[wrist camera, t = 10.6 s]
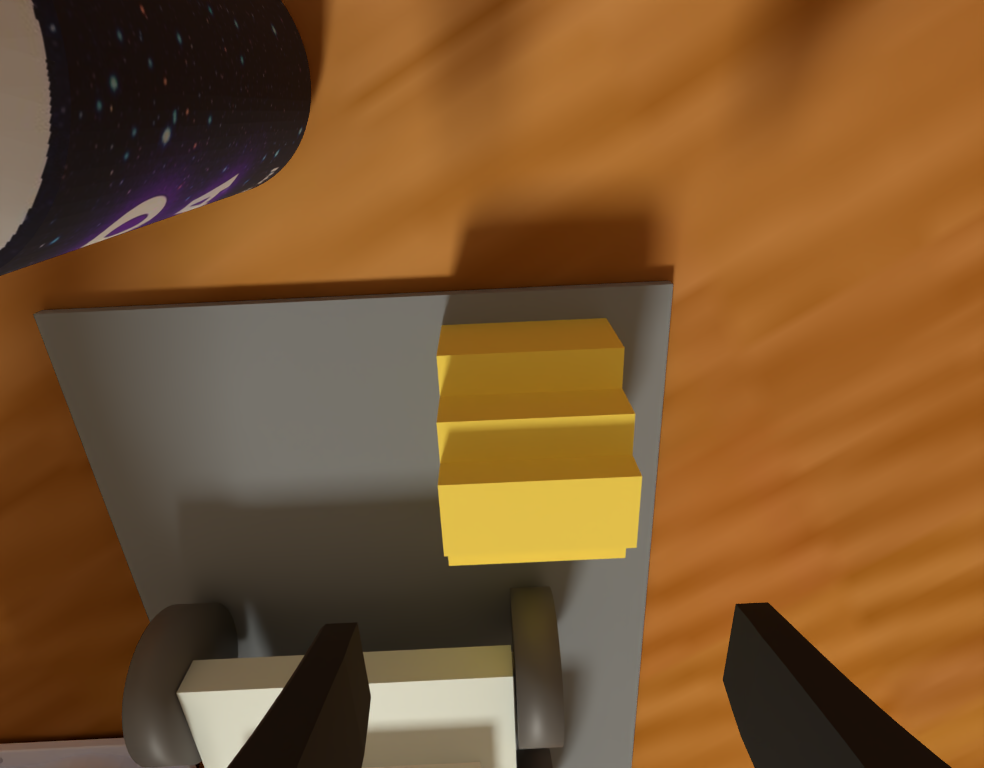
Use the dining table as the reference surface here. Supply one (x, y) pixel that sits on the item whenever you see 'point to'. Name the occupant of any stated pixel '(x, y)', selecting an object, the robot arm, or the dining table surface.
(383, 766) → the trolley
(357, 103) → the dining table surface
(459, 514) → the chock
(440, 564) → the mat
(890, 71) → the dining table surface
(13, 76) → the beverage can
